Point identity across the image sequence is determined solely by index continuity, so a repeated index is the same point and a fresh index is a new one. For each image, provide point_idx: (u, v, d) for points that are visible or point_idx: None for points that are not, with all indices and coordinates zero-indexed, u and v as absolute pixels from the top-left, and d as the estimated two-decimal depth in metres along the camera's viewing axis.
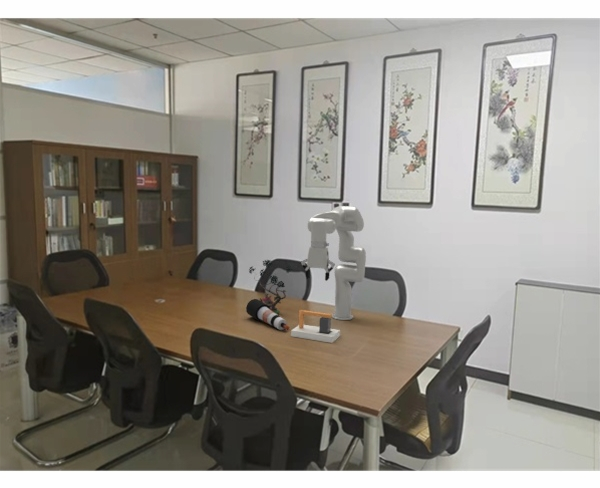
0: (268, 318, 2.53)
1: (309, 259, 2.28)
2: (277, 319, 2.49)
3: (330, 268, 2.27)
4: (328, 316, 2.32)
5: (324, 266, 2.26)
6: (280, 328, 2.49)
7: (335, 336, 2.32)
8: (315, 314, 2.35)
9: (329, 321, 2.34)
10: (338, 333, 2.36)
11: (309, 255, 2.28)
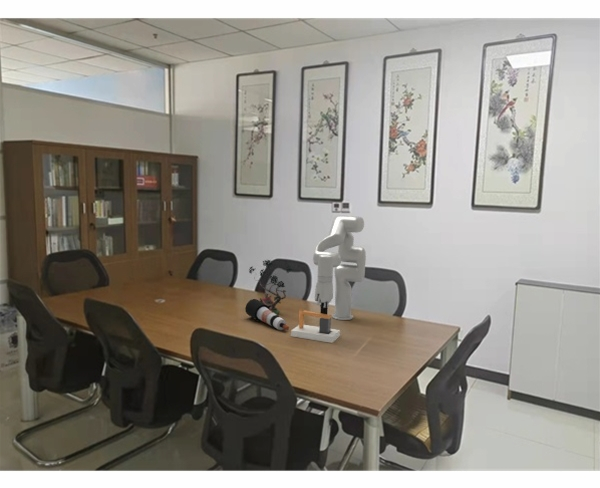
0: (267, 318, 2.53)
1: (323, 295, 2.30)
2: (276, 319, 2.49)
3: None
4: (327, 317, 2.31)
5: (332, 297, 2.36)
6: (279, 328, 2.49)
7: (335, 336, 2.32)
8: (314, 314, 2.34)
9: (329, 321, 2.34)
10: (338, 333, 2.36)
11: (323, 291, 2.30)
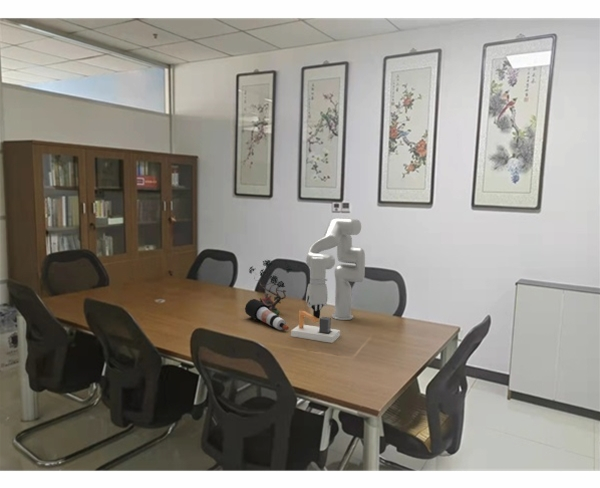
0: (267, 318, 2.53)
1: (313, 297, 2.25)
2: (276, 319, 2.49)
3: (322, 305, 2.30)
4: (313, 320, 2.25)
5: (326, 301, 2.29)
6: (279, 328, 2.48)
7: (335, 336, 2.32)
8: (307, 316, 2.31)
9: (329, 321, 2.34)
10: (338, 333, 2.36)
11: (312, 293, 2.25)
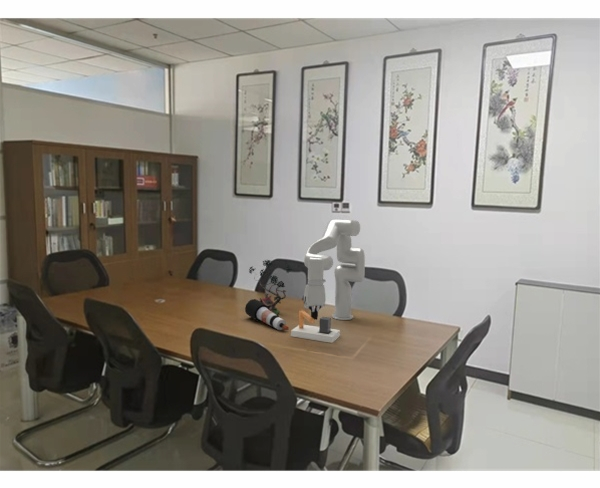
0: (267, 318, 2.53)
1: (309, 298, 2.24)
2: (276, 319, 2.49)
3: None
4: (309, 320, 2.25)
5: (323, 302, 2.27)
6: (279, 328, 2.48)
7: (335, 336, 2.32)
8: (304, 316, 2.31)
9: (329, 321, 2.34)
10: (338, 333, 2.36)
11: (309, 294, 2.24)
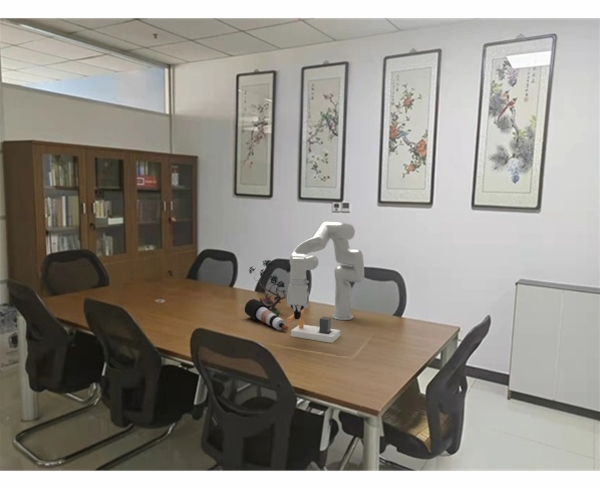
0: (267, 318, 2.53)
1: (289, 296, 2.25)
2: (276, 319, 2.49)
3: (301, 307, 2.25)
4: None
5: (304, 304, 2.23)
6: (279, 328, 2.48)
7: (335, 336, 2.32)
8: None
9: (329, 321, 2.34)
10: (338, 333, 2.36)
11: (289, 292, 2.25)
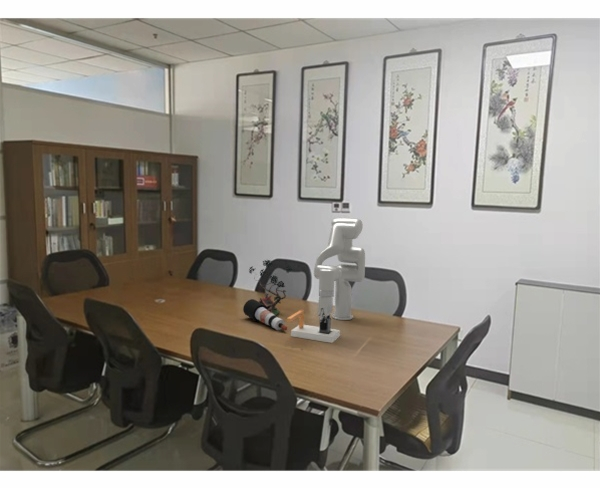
0: (266, 318, 2.53)
1: (327, 309, 2.29)
2: (275, 319, 2.48)
3: (330, 314, 2.38)
4: None
5: None
6: (278, 328, 2.48)
7: (335, 336, 2.32)
8: None
9: (329, 321, 2.34)
10: (338, 333, 2.36)
11: (327, 305, 2.29)
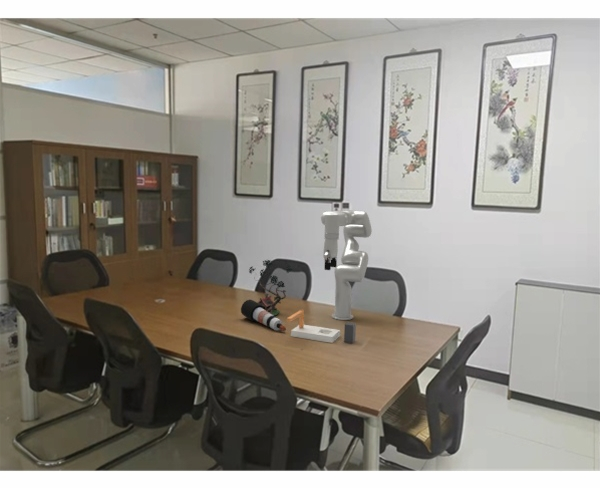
0: (264, 319, 2.52)
1: (332, 251, 2.43)
2: (273, 320, 2.48)
3: (336, 255, 2.53)
4: None
5: None
6: (276, 329, 2.48)
7: (335, 336, 2.32)
8: None
9: (354, 326, 2.29)
10: (338, 333, 2.36)
11: (332, 247, 2.43)
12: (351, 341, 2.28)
